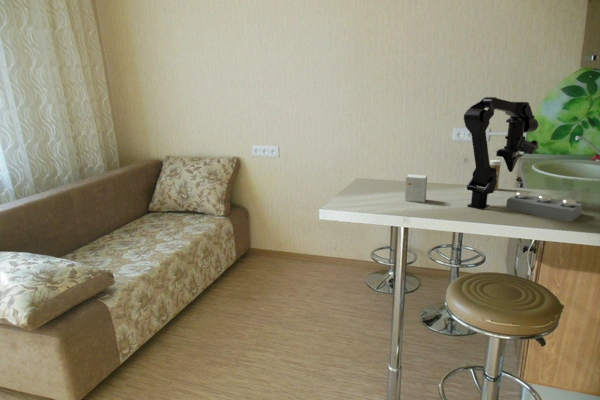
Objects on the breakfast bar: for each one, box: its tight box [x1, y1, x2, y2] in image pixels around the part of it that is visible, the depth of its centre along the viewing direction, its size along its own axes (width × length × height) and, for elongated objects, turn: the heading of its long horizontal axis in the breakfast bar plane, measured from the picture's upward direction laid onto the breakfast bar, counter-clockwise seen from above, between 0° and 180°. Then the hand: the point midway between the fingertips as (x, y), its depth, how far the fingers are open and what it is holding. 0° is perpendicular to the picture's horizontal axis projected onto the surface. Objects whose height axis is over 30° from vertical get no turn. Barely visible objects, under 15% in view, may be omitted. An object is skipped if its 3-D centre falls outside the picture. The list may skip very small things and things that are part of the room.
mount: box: [505, 194, 583, 222], centre depth 154 cm, size 12×22×4 cm, turn 43°
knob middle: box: [537, 194, 552, 203], centre depth 153 cm, size 4×4×5 cm
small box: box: [404, 173, 428, 203], centre depth 171 cm, size 8×6×10 cm
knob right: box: [561, 198, 577, 208], centre depth 147 cm, size 4×4×5 cm
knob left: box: [514, 190, 529, 200], centre depth 159 cm, size 4×4×5 cm
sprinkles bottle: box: [489, 159, 502, 191], centre depth 187 cm, size 5×5×13 cm
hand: (510, 171), depth 167 cm, fingers closed
